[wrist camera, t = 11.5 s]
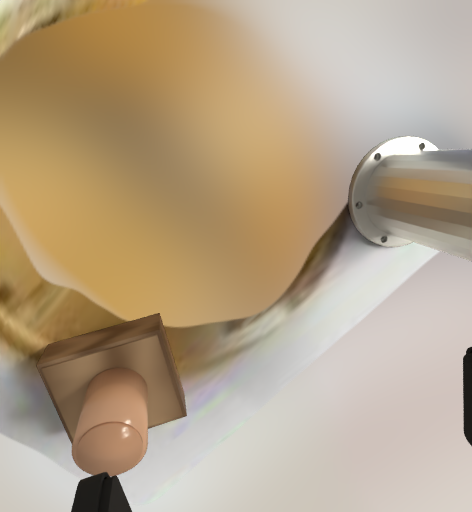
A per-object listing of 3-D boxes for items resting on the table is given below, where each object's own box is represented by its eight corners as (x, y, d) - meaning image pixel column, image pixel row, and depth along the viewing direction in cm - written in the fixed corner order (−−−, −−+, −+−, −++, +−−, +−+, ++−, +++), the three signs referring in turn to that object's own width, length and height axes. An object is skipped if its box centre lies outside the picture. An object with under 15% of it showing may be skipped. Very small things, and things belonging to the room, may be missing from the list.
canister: (140, 361, 36) (138, 411, 29) (153, 408, 37) (154, 466, 31) (78, 377, 35) (60, 434, 28) (95, 425, 36) (82, 489, 30)
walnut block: (159, 312, 39) (159, 330, 35) (184, 392, 43) (186, 417, 39) (48, 344, 38) (35, 366, 34) (83, 425, 41) (75, 454, 37)
